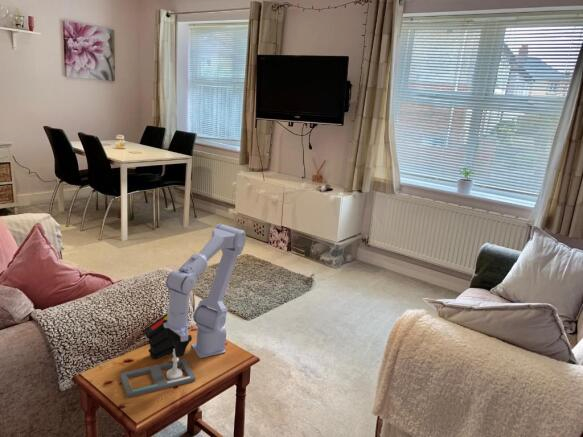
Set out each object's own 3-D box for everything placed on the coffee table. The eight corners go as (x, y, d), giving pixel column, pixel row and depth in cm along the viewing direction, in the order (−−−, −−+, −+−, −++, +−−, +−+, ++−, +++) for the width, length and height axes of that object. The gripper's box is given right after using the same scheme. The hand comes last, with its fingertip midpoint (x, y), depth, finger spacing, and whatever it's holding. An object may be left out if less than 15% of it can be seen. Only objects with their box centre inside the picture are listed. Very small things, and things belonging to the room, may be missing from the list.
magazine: (192, 343, 149) (178, 313, 140) (159, 369, 142) (142, 339, 134) (187, 338, 151) (172, 308, 143) (154, 363, 145) (137, 333, 136)
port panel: (184, 362, 141) (185, 358, 141) (195, 380, 133) (195, 377, 133) (120, 376, 130) (120, 372, 130) (127, 397, 123) (127, 394, 122)
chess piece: (164, 371, 136) (166, 343, 133) (180, 368, 138) (183, 341, 135) (167, 381, 131) (169, 353, 129) (183, 378, 133) (186, 350, 131)
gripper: (158, 299, 132) (156, 338, 135) (172, 324, 120) (169, 365, 124) (181, 296, 135) (178, 334, 139) (196, 320, 124) (193, 360, 128)
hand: (175, 348), depth 132 cm, fingers open, 7 cm apart
